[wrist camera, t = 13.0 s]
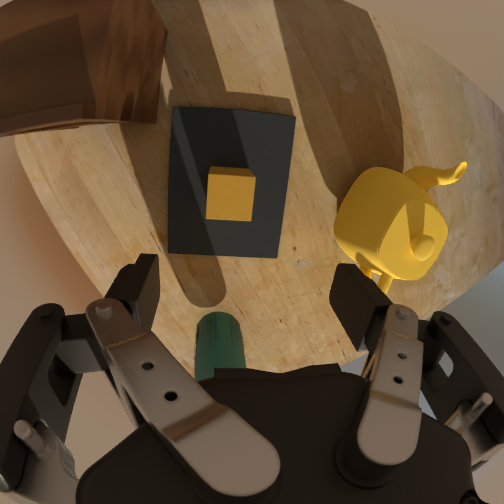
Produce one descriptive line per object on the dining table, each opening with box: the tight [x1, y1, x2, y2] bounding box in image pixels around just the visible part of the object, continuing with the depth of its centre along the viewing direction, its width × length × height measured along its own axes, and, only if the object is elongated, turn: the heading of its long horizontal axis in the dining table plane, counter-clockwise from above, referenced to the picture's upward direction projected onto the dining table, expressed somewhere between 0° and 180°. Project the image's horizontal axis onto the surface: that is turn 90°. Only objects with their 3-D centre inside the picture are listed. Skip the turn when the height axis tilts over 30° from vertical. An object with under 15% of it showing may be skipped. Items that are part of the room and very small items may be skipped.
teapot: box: [334, 162, 467, 294], centre depth 30 cm, size 13×20×12 cm
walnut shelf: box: [0, 0, 168, 137], centre depth 17 cm, size 12×12×19 cm
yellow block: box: [206, 166, 256, 221], centre depth 30 cm, size 4×4×6 cm
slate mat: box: [168, 107, 296, 258], centre depth 33 cm, size 18×14×1 cm
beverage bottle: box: [193, 312, 247, 382], centre depth 32 cm, size 6×7×20 cm
